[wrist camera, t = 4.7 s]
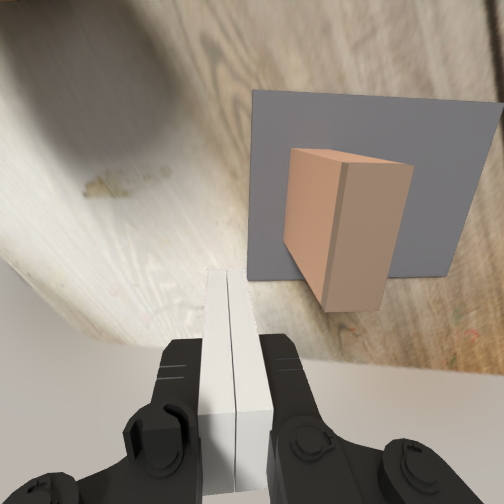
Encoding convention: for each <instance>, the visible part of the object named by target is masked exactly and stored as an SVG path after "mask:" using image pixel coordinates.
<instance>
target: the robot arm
mask: <svg viewBox="0 0 504 504" xmlns="http://www.w3.org/2000/svg"><path fill="white" fill-rule="evenodd" d="M123 437H124V442H125V447H126V452H127V456H126V457H124V458H123V459H122V460H121V461H119V462H118V463H116V464H114V465H113V466H111V467H109V468H107V469H105V470H102V471H100V472H97V473H95V474H93V475H90V476H88V477H85V478H83V479H81V480H78V481H75V479H74V478H73V477H72V476H70V475H67V474H65V473H63V472H58V473H47V474H44V475H42V476H39V477H37V478H34V479H31V480H30V481H28V482H27V483H25V484H24V485H23V486H21V487H20V488H19V489H17V490H16V491H14V492H13V493H12V494H11V495H10V496H9V497H8V498H7V499H6V500H5V501H4V502H3V504H202V496H205V495H214V494H222V493H232V492H234V477H235V492H241V491H250V490H260V489H266V487H267V481H268V488H269V495H270V504H484V503H483V502H482V501H481V500H480V499H479V498H478V497H477V496H476V495H475V494H474V493H473V491H472V490H471V489H470V488H469V487H468V486H467V485H466V484H465V483H464V481H463V480H462V479H461V478H460V477H459V476H458V475H457V474H456V473H455V472H454V471H453V469H452V468H451V467H450V466H449V465H448V464H447V463H446V462H445V461H444V460H443V459H442V458H441V457H440V456H439V455H438V454H436V453H435V452H434V451H433V450H432V449H430V448H429V447H426V446H425V445H423V444H421V443H419V442H417V441H414V440H409V439H405V438H403V439H395V440H392V441H391V442H390V443H388V444H387V445H386V446H385V449H384V451H382V450H378V449H373V448H369V447H365V446H361V445H358V444H354V443H351V442H349V441H346V440H344V439H342V438H341V437H339V436H337V435H336V434H335V433H334V432H333V430H332V429H330V428H329V427H328V426H327V425H326V424H325V423H324V421H323V420H322V418H321V416H320V414H319V411H318V408H317V405H316V403H315V400H314V397H313V394H312V392H311V389H310V386H309V384H308V380H307V378H306V375H305V372H304V370H303V367H302V364H301V361H300V359H299V355H298V353H297V350H296V347H295V344H294V343H293V342H292V341H291V340H290V339H289V338H288V337H287V336H286V335H285V334H262V335H258V330H257V325H256V321H255V316H254V311H253V306H252V301H251V296H250V291H249V286H248V281H247V276H246V271H245V269H227V279H226V269H207V280H206V295H205V311H204V326H203V338H197V339H175V340H172V341H171V342H170V343H169V345H168V346H167V347H166V348H165V350H164V351H163V353H162V358H161V362H160V368H159V370H158V374H157V380H156V382H155V387H154V391H153V395H152V399H151V403H150V404H147V405H146V406H144V407H142V408H140V409H139V410H138V411H137V412H136V413H135V414H134V415H133V416H132V417H131V418H130V419H129V421H128V423H127V425H126V427H125V429H124V431H123Z"/></svg>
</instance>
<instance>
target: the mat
mask: <svg viewBox="0 0 504 504" xmlns="http://www.w3.org/2000/svg"><path fill="white" fill-rule="evenodd" d="M503 107H504V103H493V102H475V101H457V100H438V99H420V98H402V97H383V96H365V95H347V94H328V93H310V92H292V91H273V90H255V89H253V94H252V125H251V157H250V188H249V219H248V251H247V281H251V280H296V279H305V277H304V276H303V274H302V272H301V271H300V269H299V267H298V265H297V264H296V262H295V260H294V259H293V257H292V255H291V253H290V252H289V250H288V248H287V247H286V245H285V243H284V242H283V238H284V226H285V214H286V202H287V190H288V178H289V166H290V154H291V148H301V149H330V150H335V151H340V152H346V153H351V154H356V155H362V156H367V157H372V158H377V159H383V160H388V161H393V162H398V163H404V164H409V165H414V170H413V175H412V179H411V183H410V187H409V191H408V195H407V199H406V203H405V207H404V211H403V215H402V219H401V223H400V228H399V232H398V236H397V240H396V244H395V248H394V252H393V256H392V260H391V264H390V268H389V272H388V277H432V276H447V274H448V271H449V268H450V265H451V262H452V259H453V256H454V253H455V251H456V248H457V245H458V242H459V239H460V236H461V233H462V230H463V227H464V224H465V221H466V218H467V215H468V212H469V209H470V206H471V203H472V200H473V197H474V194H475V191H476V188H477V185H478V182H479V179H480V176H481V173H482V170H483V167H484V164H485V161H486V158H487V155H488V152H489V149H490V146H491V143H492V140H493V137H494V134H495V131H496V128H497V125H498V122H499V119H500V116H501V113H502V110H503Z"/></svg>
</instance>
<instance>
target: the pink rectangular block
mask: <svg viewBox="0 0 504 504" xmlns="http://www.w3.org/2000/svg"><path fill="white" fill-rule="evenodd" d="M413 170H414V165H409V164H404V163H398V162H393V161H388V160H383V159H377V158H372V157H367V156H362V155H356V154H351V153H346V152H340V151H335V150H330V149H301V148H291V154H290V166H289V178H288V190H287V202H286V214H285V226H284V238H283V242H284V243H285V245H286V247H287V248H288V250H289V252H290V253H291V255H292V257H293V259H294V260H295V262H296V264H297V265H298V267H299V269H300V271H301V272H302V274H303V276H304V277H305V279H306V281H307V282H308V284H309V286H310V288H311V289H312V291H313V293H314V294H315V296H316V298H317V300H318V301H319V303H320V305H321V306H322V308H323V310H324V311H325V313H328V312H356V311H379V309H380V305H381V301H382V297H383V293H384V289H385V285H386V281H387V277H388V272H389V268H390V264H391V260H392V256H393V252H394V248H395V244H396V240H397V236H398V232H399V228H400V223H401V219H402V215H403V211H404V207H405V203H406V199H407V195H408V191H409V187H410V183H411V179H412V175H413Z"/></svg>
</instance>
